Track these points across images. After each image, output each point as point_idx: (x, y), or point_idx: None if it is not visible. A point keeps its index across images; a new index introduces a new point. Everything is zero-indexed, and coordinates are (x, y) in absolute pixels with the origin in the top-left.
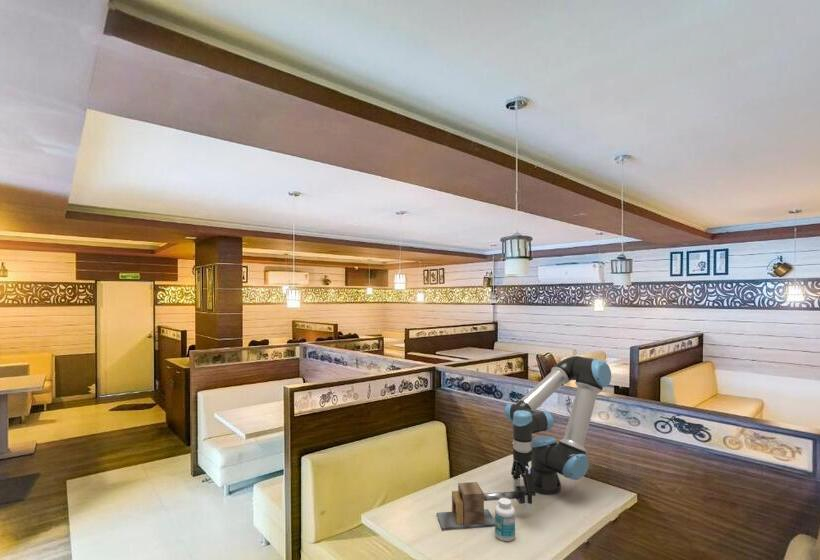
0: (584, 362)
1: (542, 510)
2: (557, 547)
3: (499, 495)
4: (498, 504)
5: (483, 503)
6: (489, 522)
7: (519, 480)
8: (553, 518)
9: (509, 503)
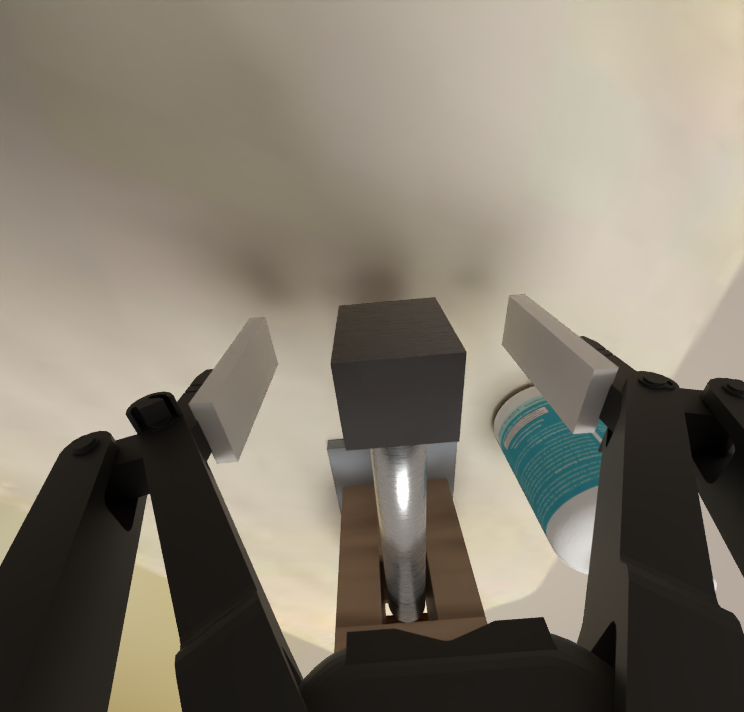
0: None
1: (298, 102)
2: (736, 184)
3: (423, 525)
4: (584, 571)
5: (473, 575)
6: (440, 460)
7: (218, 401)
8: (425, 41)
9: (715, 585)
